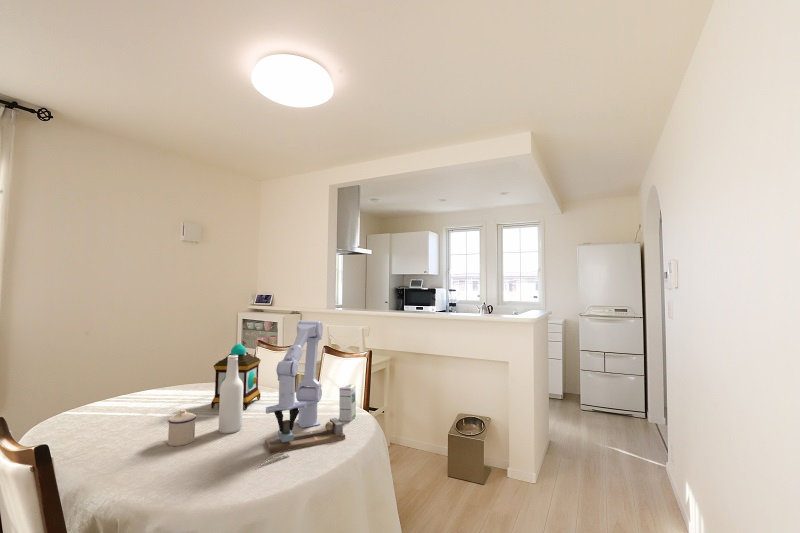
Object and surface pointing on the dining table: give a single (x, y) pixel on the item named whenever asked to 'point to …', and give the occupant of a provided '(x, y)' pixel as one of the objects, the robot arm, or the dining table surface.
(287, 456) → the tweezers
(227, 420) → the alcohol
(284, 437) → the handle
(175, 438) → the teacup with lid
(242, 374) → the decorative lantern
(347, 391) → the syrup box
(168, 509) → the dining table surface
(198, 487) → the dining table surface
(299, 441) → the press bench
